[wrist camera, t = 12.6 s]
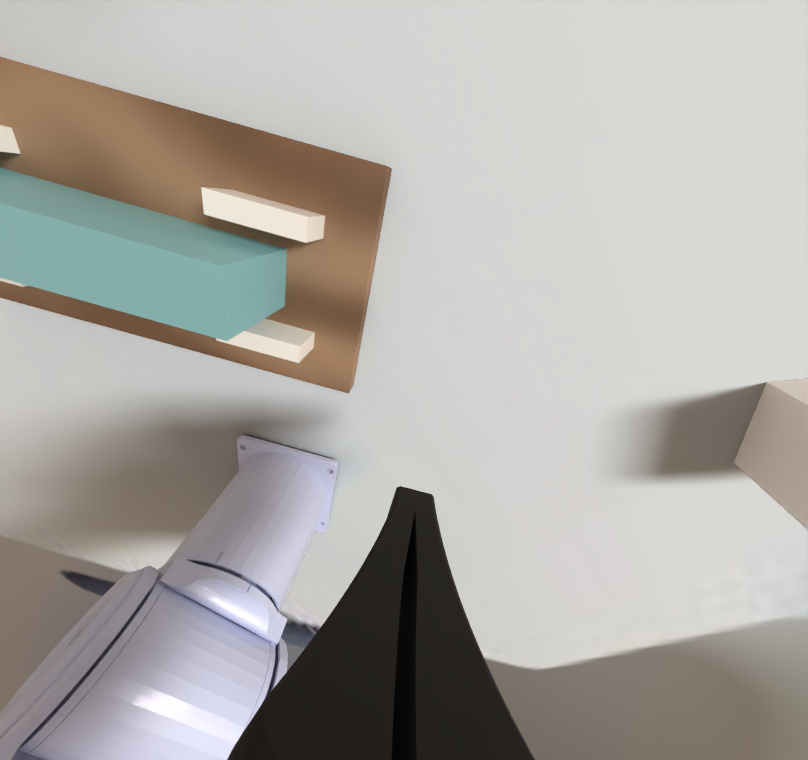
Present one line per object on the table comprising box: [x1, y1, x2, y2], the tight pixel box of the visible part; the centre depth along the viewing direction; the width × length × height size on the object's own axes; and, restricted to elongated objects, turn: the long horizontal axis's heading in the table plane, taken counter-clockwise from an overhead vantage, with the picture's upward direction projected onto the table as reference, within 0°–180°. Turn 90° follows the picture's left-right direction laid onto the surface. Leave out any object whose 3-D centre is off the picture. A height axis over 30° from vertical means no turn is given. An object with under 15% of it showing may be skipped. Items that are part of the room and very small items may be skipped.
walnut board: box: [0, 57, 392, 393], centre depth 16 cm, size 12×24×1 cm, turn 76°
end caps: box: [0, 125, 325, 363], centre depth 15 cm, size 7×19×2 cm, turn 76°
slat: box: [0, 167, 287, 341], centre depth 14 cm, size 3×16×5 cm, turn 76°
